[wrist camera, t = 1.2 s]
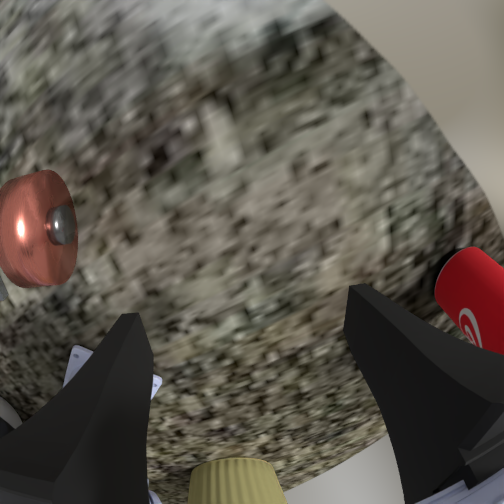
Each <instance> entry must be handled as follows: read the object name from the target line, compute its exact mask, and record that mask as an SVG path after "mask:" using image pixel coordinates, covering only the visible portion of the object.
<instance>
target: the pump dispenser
mask: <svg viewBox="0 0 504 504" xmlns="http://www.w3.org/2000/svg"><path fill="white" fill-rule="evenodd" d="M21 424H22V421H21V419H20V417H19V415H18V414H17V412H16V411H15V409H14V408H13V407H12V406H11V405H10V404H9V403H8V402H7V401H6V400H4V399H3V398H2V397H0V438H2V437H4V436H5V435H7V434H8V433H10V432H11V431H13V430H14V429H16V428H17V427H19V426H20V425H21Z"/></svg>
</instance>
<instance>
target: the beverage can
mask: <svg viewBox="0 0 504 504" xmlns="http://www.w3.org/2000/svg"><path fill="white" fill-rule="evenodd" d="M434 293H435V299H436V302H437V303H438V304H439V306H440V307H441V308H442V309H443V310H444V311H445V312H446V313H447V315H448V316H449V317H450V318H451V319H452V320H453V321H454V323H455V324H456V325H457V326H458V327H459V328H460V330H461V331H462V332H463V333H464V334H465V336H466V337H467V338H468V339H469V340H470V342H471V343H472V344H473V345H475V346H478V347H480V348H483V349H486V350H489V351H492V352H496V353H499V354H503V355H504V268H503V267H501V266H500V265H499V264H498V263H497V262H495V261H494V260H493V259H492V258H490V257H489V256H488V255H487V254H485V253H484V252H483V251H482V250H480V249H479V248H477V247H467V248H464V249H462V250H460V251H459V252H457V253H456V254H454V255H453V256H452V257H451V258H450V259H449V260H448V261H447V262H446V263H445V265H444V266H443V268H442V269H441V271H440V273H439V275H438V278H437V281H436V285H435V292H434Z"/></svg>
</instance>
